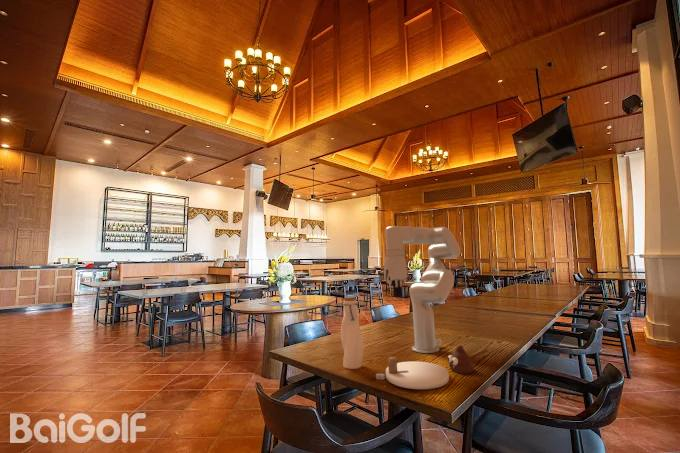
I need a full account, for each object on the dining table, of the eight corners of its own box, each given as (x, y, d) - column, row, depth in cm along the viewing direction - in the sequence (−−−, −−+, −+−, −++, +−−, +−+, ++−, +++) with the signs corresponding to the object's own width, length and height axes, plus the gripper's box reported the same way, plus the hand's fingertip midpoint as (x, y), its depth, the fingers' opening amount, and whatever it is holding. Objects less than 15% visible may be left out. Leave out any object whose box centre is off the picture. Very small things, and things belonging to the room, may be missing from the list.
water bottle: (368, 368, 127) (365, 297, 130) (347, 371, 124) (344, 299, 127) (358, 361, 137) (356, 295, 139) (339, 363, 134) (336, 296, 137)
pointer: (384, 378, 116) (384, 373, 116) (384, 379, 115) (384, 375, 115) (376, 378, 116) (376, 373, 117) (376, 379, 115) (376, 375, 115)
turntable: (435, 365, 125) (434, 346, 126) (459, 386, 104) (458, 364, 104) (380, 368, 124) (379, 350, 125) (393, 391, 102) (392, 368, 103)
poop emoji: (479, 373, 117) (476, 347, 118) (457, 375, 116) (455, 349, 117) (464, 365, 127) (462, 341, 128) (444, 366, 126) (442, 342, 127)
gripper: (401, 254, 147) (404, 294, 145) (376, 254, 139) (378, 297, 137) (413, 253, 141) (416, 295, 139) (387, 254, 133) (390, 298, 131)
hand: (397, 296), depth 138 cm, fingers closed
